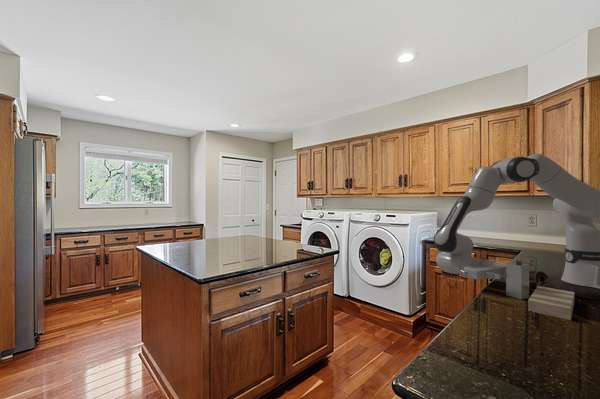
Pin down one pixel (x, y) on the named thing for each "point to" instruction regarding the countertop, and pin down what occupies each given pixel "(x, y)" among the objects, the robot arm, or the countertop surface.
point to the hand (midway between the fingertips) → (507, 275)
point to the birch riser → (552, 302)
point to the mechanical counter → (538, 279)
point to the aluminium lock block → (517, 280)
